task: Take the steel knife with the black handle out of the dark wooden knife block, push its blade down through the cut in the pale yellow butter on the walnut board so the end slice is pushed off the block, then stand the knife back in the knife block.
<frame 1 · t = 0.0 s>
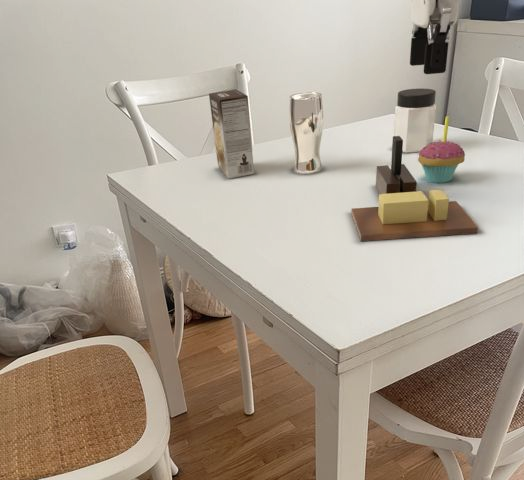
hand: (426, 68, 86), 21 cm above the table, tool pointing down, fingers open, 9 cm apart
board: (410, 223, 89), on the table
knife: (394, 195, 101), resting in knife block
cupcake: (438, 180, 106), on the table
knife block: (394, 195, 101), on the table
butter: (401, 217, 89), point 1 cm above the table, touching board
beer glass: (307, 170, 118), on the table
jar: (412, 148, 126), on the table
coffee box: (236, 172, 121), on the table
butter slice: (436, 215, 88), point 1 cm above the table, touching board
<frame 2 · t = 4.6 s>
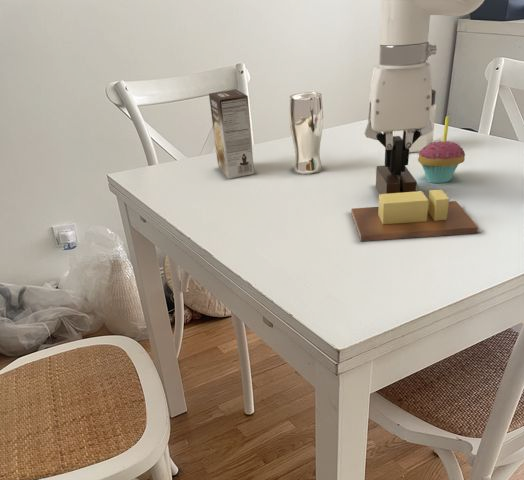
hand: (395, 169, 98), 5 cm above the table, tool pointing down, fingers closed on knife, 1 cm apart
knife: (394, 195, 101), resting in knife block, touching gripper
everything else where it was.
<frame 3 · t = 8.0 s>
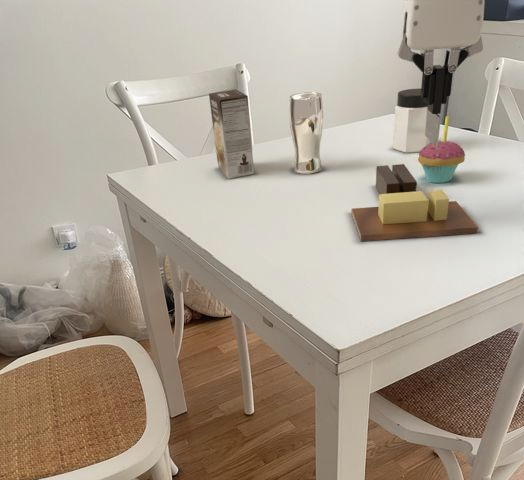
hand: (434, 102, 79), 18 cm above the table, tool pointing down, fingers closed on knife, 1 cm apart
knife: (431, 140, 82), point 13 cm above the table, touching gripper
everything else where it was.
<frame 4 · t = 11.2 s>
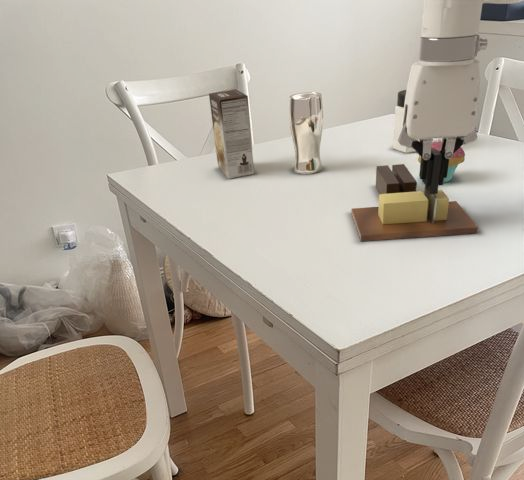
hand: (432, 182, 85), 7 cm above the table, tool pointing down, fingers closed on knife, 1 cm apart
knife: (428, 216, 88), point 1 cm above the table, touching gripper
everything else where it was.
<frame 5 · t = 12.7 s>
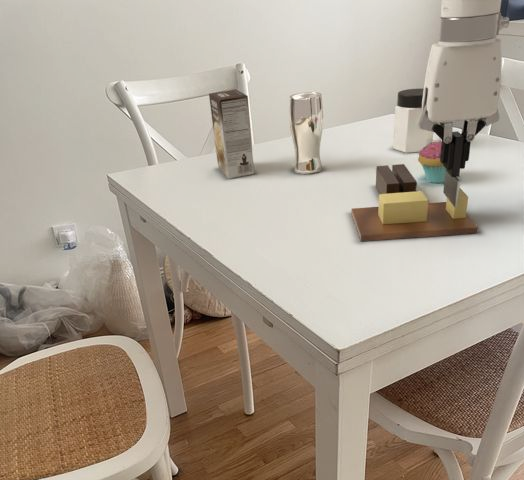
hand: (453, 166, 84), 9 cm above the table, tool pointing down, fingers closed on knife, 1 cm apart
knife: (449, 199, 87), point 3 cm above the table, touching gripper
butter slice: (455, 213, 88), point 1 cm above the table, touching board
everything else where it was.
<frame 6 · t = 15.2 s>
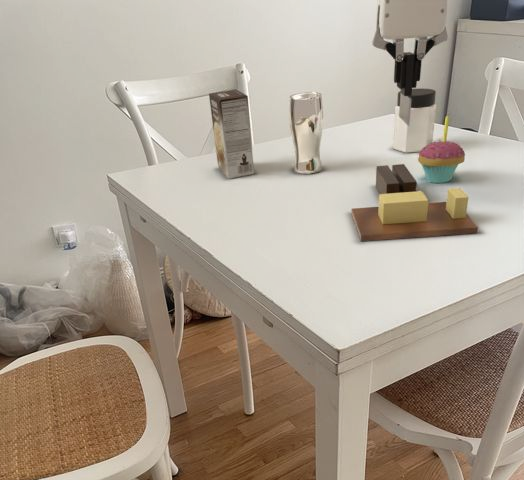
hand: (406, 86, 89), 19 cm above the table, tool pointing down, fingers closed on knife, 1 cm apart
knife: (404, 121, 92), point 13 cm above the table, touching gripper
everything else where it was.
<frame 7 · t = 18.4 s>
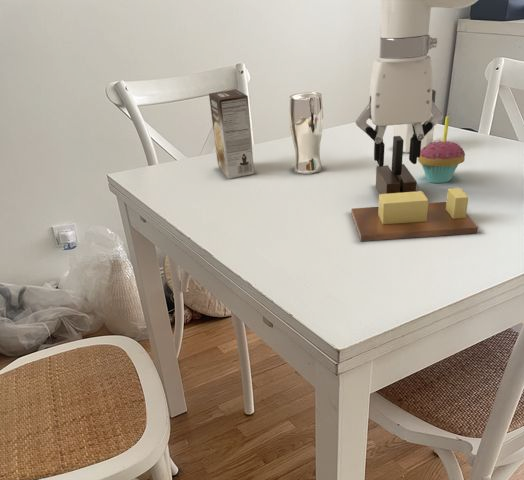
hand: (396, 162, 97), 6 cm above the table, tool pointing down, fingers open, 5 cm apart
knife: (394, 195, 101), resting in knife block
everything else where it was.
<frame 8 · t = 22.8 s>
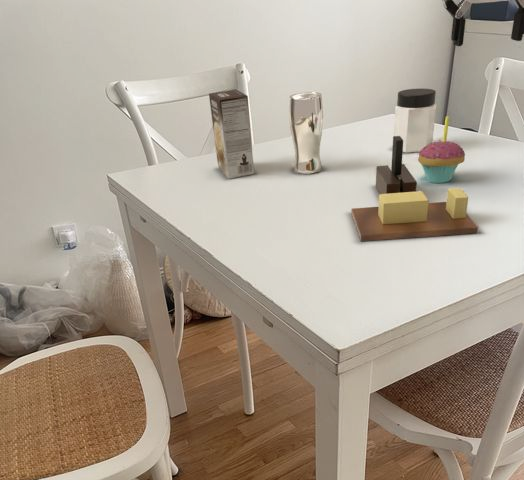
hand: (486, 42, 91), 23 cm above the table, tool pointing down, fingers open, 9 cm apart
nothing on the table moved.
at the end: butter slice 0.8 cm from the target spot, point 1.0 cm above the table; butter moved 0.0 cm from its start; knife 0.1 cm from the target spot, resting in knife block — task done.
